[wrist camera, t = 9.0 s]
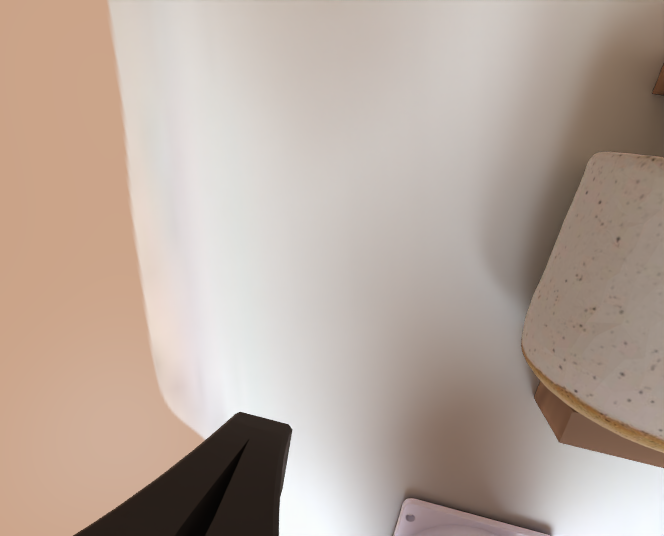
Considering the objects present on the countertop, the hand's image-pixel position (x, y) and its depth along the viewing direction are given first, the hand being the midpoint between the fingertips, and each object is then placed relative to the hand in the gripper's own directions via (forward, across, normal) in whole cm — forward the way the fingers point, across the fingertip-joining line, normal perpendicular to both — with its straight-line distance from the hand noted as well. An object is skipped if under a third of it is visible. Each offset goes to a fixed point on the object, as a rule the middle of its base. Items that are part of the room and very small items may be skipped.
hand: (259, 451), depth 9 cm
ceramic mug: (+10, -13, -5) cm, 17 cm away
